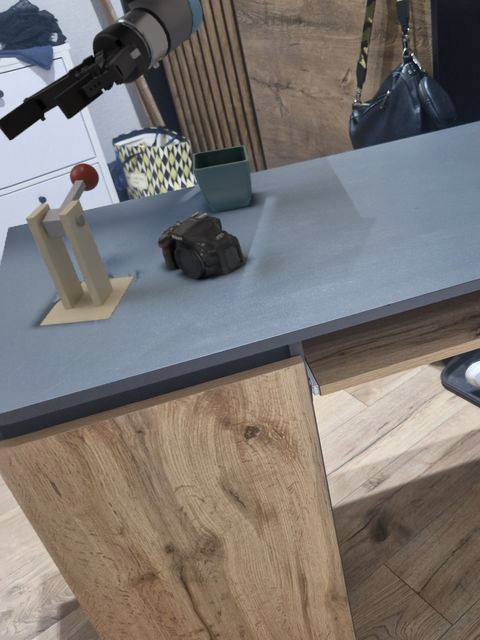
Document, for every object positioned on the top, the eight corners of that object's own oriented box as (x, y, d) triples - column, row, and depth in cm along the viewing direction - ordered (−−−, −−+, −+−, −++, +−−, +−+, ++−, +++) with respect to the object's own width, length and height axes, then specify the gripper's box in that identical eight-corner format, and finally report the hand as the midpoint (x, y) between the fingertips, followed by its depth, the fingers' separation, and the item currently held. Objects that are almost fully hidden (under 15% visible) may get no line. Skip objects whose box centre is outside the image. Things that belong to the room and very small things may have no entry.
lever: (80, 183, 88) (70, 159, 86) (106, 180, 88) (95, 157, 86) (47, 243, 78) (33, 218, 76) (75, 240, 78) (62, 214, 76)
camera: (155, 287, 87) (136, 229, 82) (182, 258, 94) (166, 203, 89) (233, 288, 84) (218, 228, 79) (255, 258, 91) (242, 201, 86)
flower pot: (260, 213, 105) (249, 159, 100) (206, 223, 104) (192, 169, 99) (255, 195, 112) (245, 143, 107) (205, 204, 111) (192, 153, 106)
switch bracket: (74, 289, 90) (36, 195, 82) (137, 283, 89) (104, 188, 81) (43, 332, 81) (-4, 232, 73) (112, 326, 80) (72, 223, 72)
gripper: (202, 49, 90) (110, 127, 77) (94, 91, 104) (2, 162, 91) (171, -6, 85) (68, 67, 73) (63, 46, 99) (-38, 114, 87)
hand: (31, 120), depth 82 cm, fingers open, 13 cm apart
